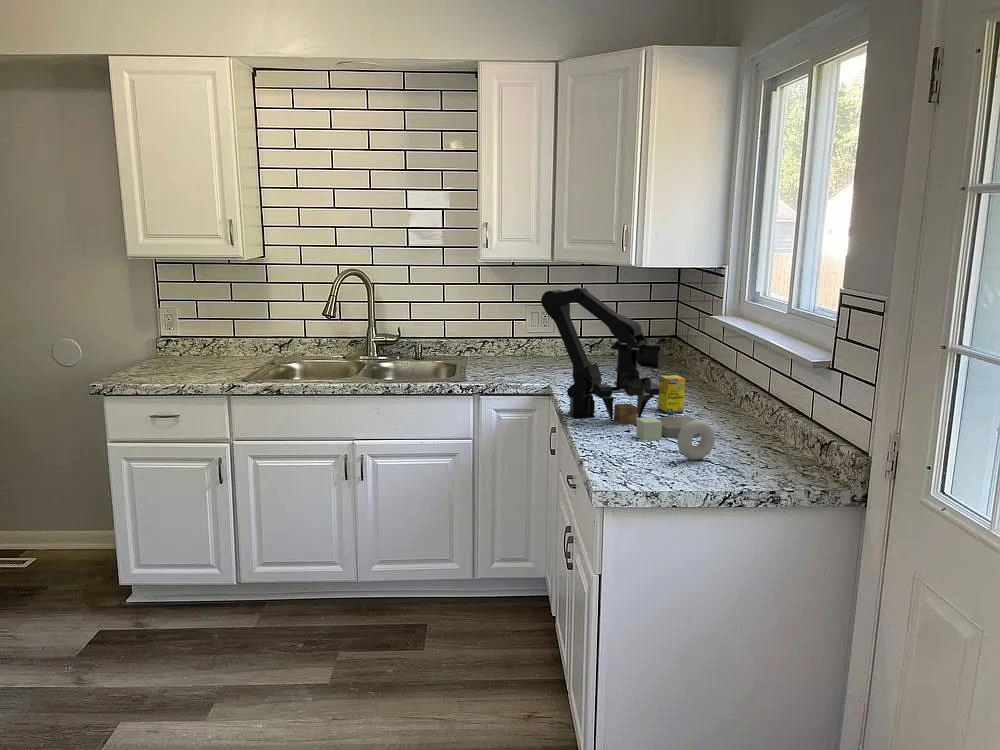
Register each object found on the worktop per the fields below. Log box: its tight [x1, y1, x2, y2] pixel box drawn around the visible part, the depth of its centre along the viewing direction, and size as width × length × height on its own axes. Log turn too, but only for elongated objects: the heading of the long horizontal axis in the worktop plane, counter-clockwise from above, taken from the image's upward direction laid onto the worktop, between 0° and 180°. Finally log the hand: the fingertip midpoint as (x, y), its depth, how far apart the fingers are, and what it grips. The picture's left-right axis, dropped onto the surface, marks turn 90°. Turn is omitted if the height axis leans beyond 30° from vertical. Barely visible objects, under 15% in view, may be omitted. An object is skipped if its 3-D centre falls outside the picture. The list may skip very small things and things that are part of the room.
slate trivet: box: [655, 415, 701, 439], centre depth 212 cm, size 12×12×2 cm
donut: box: [677, 419, 716, 461], centre depth 184 cm, size 10×3×10 cm, turn 110°
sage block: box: [635, 417, 662, 442], centre depth 204 cm, size 5×5×5 cm
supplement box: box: [657, 374, 686, 415], centre depth 234 cm, size 6×6×11 cm
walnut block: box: [613, 403, 638, 426], centre depth 221 cm, size 5×5×5 cm
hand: (625, 418), depth 221 cm, fingers open, 8 cm apart
